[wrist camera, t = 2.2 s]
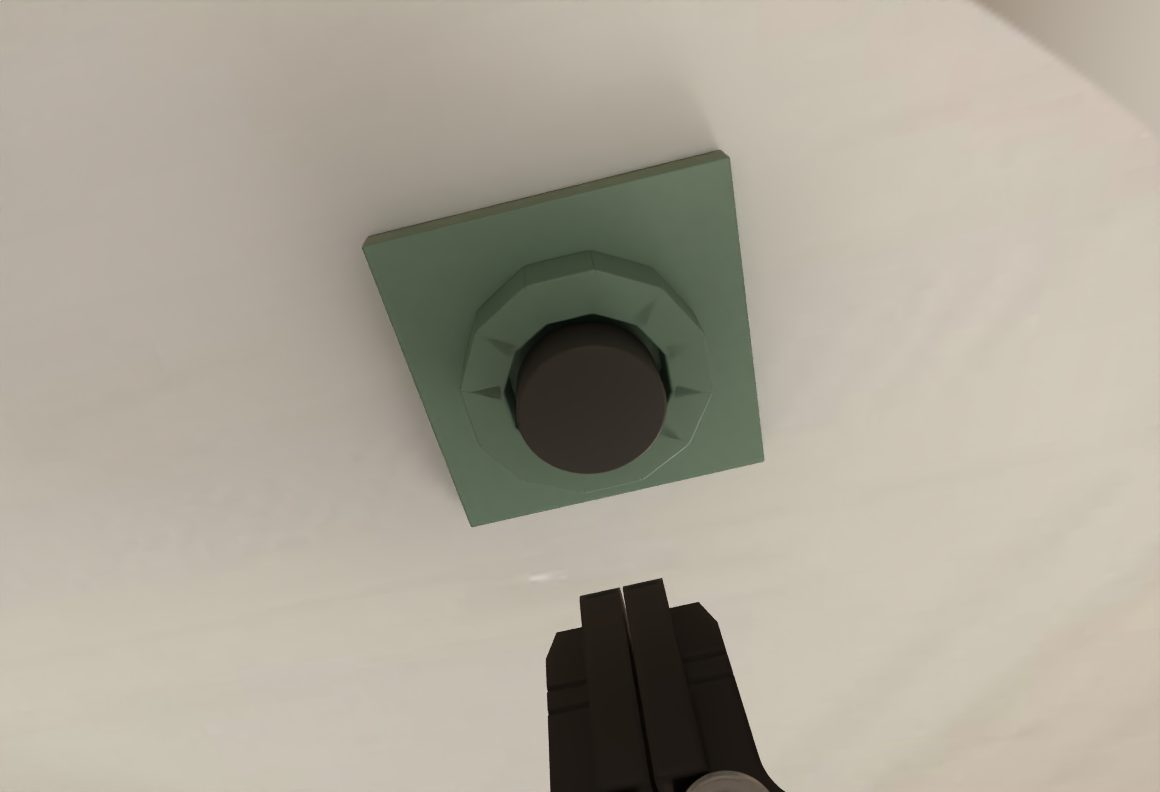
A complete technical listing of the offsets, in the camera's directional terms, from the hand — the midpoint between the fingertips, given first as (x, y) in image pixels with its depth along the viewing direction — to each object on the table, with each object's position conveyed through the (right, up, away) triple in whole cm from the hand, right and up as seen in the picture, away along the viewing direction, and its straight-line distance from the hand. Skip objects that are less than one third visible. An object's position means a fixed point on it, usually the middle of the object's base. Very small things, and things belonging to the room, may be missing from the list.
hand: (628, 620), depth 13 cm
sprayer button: (-1, +4, +7) cm, 9 cm away
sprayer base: (-1, +5, +9) cm, 11 cm away
